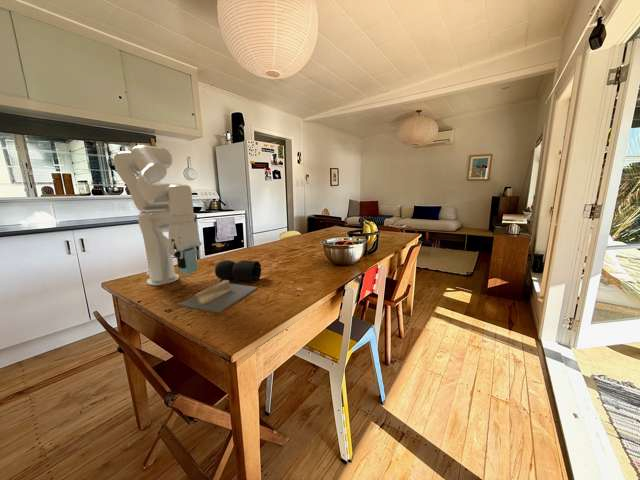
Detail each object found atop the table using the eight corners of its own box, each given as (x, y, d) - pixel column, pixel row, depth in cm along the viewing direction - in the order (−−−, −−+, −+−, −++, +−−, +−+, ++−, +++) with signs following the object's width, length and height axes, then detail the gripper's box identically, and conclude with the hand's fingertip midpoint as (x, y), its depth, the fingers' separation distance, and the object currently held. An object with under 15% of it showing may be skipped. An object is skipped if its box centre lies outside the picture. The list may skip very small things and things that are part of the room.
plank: (197, 304, 89) (196, 293, 88) (225, 289, 102) (224, 280, 101) (203, 305, 88) (201, 294, 87) (230, 290, 101) (229, 280, 100)
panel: (178, 305, 90) (178, 304, 90) (222, 283, 110) (222, 282, 110) (219, 313, 83) (219, 311, 83) (257, 288, 104) (257, 287, 103)
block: (179, 272, 97) (176, 250, 94) (188, 269, 101) (186, 247, 99) (188, 274, 95) (185, 251, 93) (197, 270, 99) (195, 248, 97)
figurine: (264, 263, 117) (224, 261, 121) (255, 259, 108) (213, 257, 112) (261, 283, 114) (221, 281, 118) (252, 281, 106) (209, 278, 110)
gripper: (193, 215, 102) (197, 258, 106) (153, 221, 87) (160, 271, 91) (208, 216, 100) (211, 260, 104) (169, 223, 84) (176, 274, 88)
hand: (187, 265), depth 97 cm, fingers closed on block, 4 cm apart
